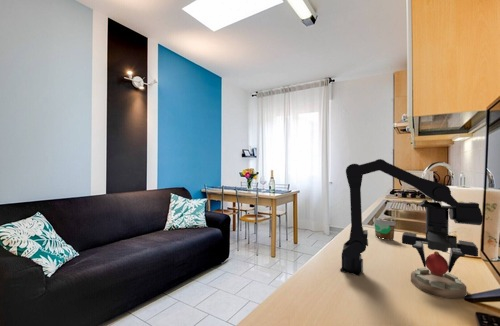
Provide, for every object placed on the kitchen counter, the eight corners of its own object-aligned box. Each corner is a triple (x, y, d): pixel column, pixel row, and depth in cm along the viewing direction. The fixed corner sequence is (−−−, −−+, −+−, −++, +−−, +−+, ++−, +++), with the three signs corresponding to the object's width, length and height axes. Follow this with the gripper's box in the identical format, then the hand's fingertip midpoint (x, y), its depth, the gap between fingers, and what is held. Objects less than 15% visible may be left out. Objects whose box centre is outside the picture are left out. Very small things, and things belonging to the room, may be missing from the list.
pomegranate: (426, 270, 79) (426, 246, 79) (448, 275, 76) (448, 250, 76) (425, 276, 75) (425, 251, 75) (448, 282, 71) (448, 256, 71)
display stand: (409, 288, 74) (409, 278, 74) (411, 272, 85) (411, 263, 85) (469, 304, 66) (469, 293, 66) (463, 284, 77) (463, 274, 77)
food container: (367, 234, 130) (367, 216, 130) (376, 233, 131) (376, 216, 131) (386, 242, 118) (386, 222, 118) (396, 240, 120) (396, 221, 120)
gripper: (400, 221, 75) (400, 270, 75) (481, 232, 63) (481, 289, 63) (403, 215, 84) (403, 259, 84) (475, 224, 72) (474, 274, 72)
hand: (436, 269), depth 75 cm, fingers closed on pomegranate, 6 cm apart
